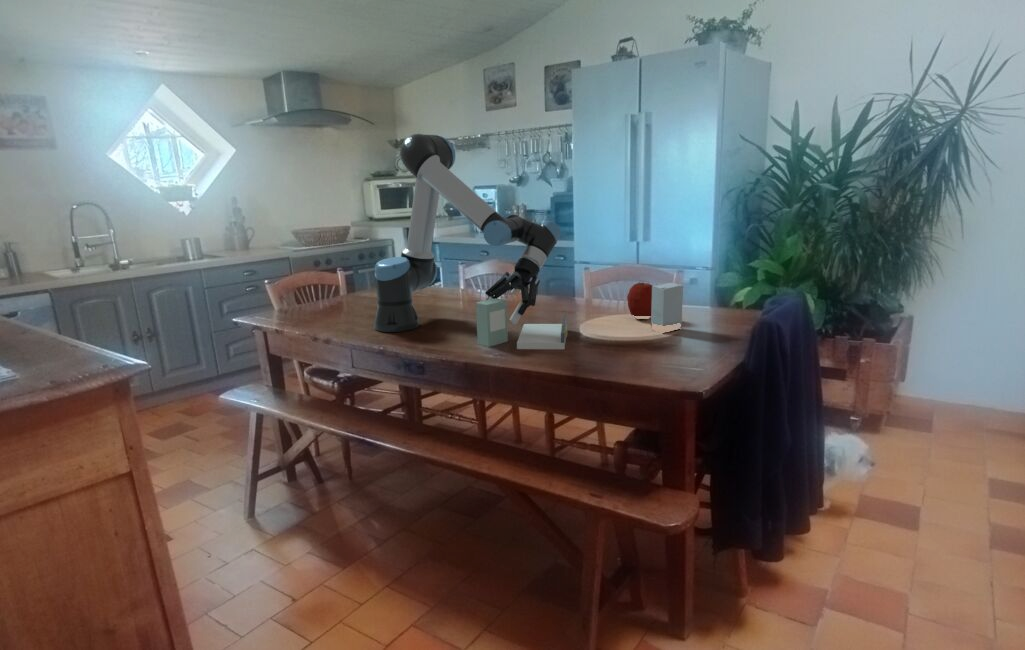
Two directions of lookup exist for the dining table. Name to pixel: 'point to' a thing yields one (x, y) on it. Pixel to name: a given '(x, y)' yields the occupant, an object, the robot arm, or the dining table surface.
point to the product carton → (491, 322)
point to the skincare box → (667, 304)
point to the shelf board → (543, 336)
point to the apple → (640, 299)
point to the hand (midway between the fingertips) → (496, 319)
